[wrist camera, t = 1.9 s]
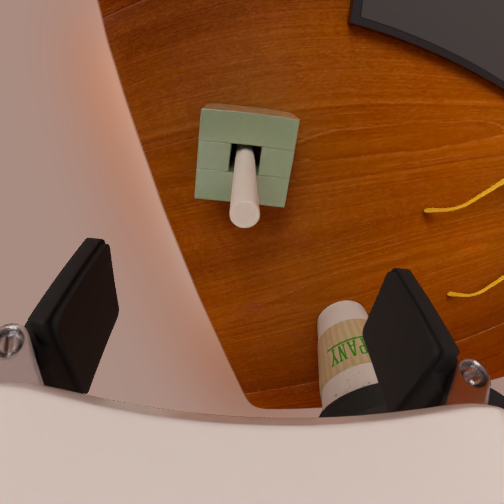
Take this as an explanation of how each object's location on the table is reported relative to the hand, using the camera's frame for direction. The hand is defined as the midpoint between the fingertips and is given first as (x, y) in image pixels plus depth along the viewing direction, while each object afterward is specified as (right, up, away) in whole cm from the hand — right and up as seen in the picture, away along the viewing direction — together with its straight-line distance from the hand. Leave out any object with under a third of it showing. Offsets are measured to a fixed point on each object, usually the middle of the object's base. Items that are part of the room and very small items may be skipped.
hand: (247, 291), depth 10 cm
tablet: (+21, +26, +7) cm, 34 cm away
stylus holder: (0, +10, +16) cm, 19 cm away
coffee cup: (+11, -7, +27) cm, 30 cm away
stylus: (0, +10, +16) cm, 19 cm away
